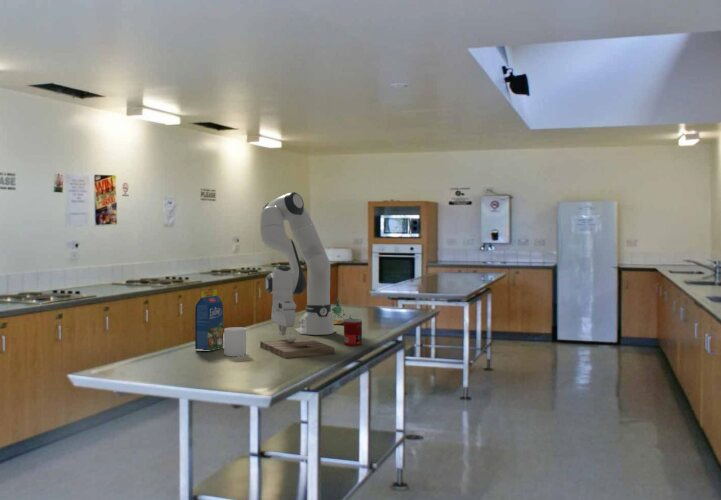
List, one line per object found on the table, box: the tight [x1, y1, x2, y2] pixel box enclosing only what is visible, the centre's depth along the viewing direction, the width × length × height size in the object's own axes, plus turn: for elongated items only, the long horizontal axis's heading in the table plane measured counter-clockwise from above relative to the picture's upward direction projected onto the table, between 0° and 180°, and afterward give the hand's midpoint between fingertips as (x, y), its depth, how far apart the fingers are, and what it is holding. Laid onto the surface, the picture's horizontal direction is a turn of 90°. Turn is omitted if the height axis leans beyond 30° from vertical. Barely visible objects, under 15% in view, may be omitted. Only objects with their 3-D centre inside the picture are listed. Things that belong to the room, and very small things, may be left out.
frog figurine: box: [330, 298, 353, 325], centre depth 375 cm, size 10×18×15 cm, turn 75°
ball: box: [285, 332, 297, 342], centre depth 297 cm, size 4×4×4 cm
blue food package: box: [194, 288, 224, 351], centre depth 293 cm, size 6×12×25 cm, turn 160°
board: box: [259, 337, 336, 359], centre depth 292 cm, size 28×22×2 cm
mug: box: [223, 326, 247, 357], centre depth 282 cm, size 9×12×11 cm
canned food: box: [343, 318, 363, 347], centre depth 308 cm, size 8×8×11 cm
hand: (282, 334), depth 305 cm, fingers closed
